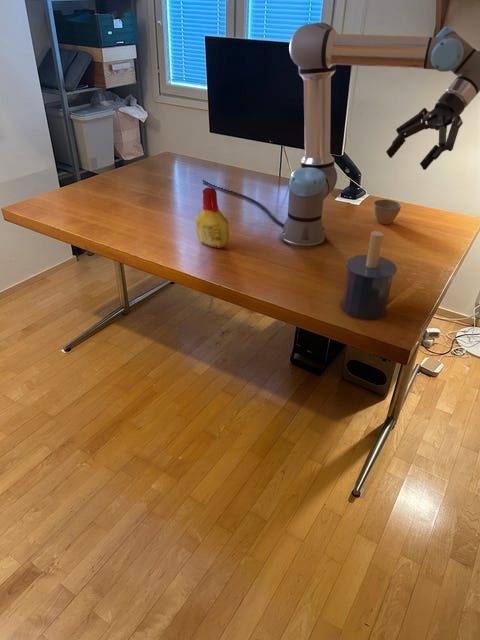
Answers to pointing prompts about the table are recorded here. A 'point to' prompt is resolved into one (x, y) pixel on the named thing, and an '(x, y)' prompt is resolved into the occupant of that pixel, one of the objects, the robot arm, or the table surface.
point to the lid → (372, 261)
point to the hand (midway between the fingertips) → (404, 160)
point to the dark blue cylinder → (365, 296)
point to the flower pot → (386, 210)
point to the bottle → (212, 221)
